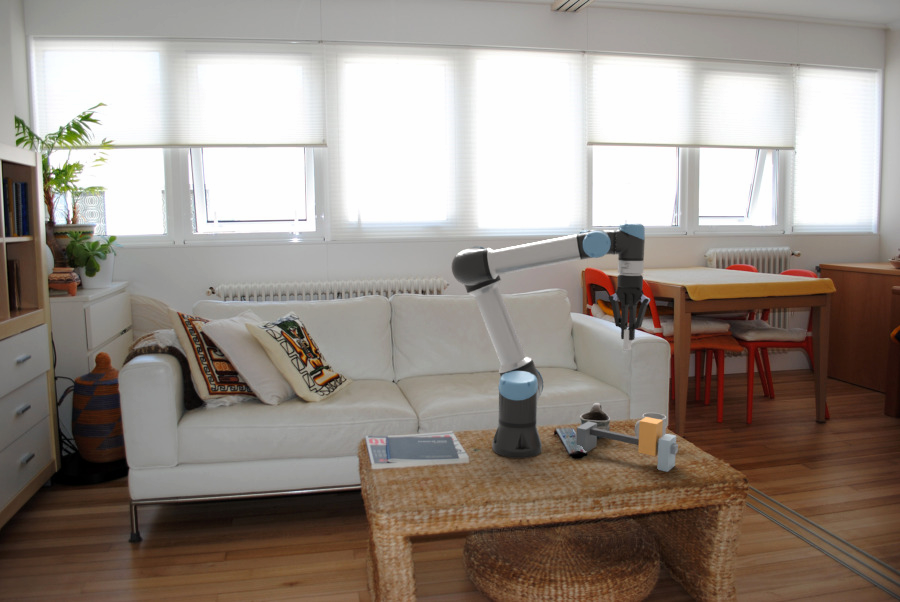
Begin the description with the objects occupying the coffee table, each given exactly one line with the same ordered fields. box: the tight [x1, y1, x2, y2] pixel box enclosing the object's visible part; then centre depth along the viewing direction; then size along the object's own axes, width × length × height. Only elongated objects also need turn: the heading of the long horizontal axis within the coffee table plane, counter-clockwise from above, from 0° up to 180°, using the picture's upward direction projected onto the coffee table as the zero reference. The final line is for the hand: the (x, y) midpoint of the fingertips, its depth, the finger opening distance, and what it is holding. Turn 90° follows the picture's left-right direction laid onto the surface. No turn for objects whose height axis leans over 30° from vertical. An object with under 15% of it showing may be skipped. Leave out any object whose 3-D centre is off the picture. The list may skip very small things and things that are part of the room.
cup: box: [634, 412, 667, 437], centre depth 210 cm, size 7×10×9 cm
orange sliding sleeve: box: [637, 417, 663, 457], centre depth 192 cm, size 5×5×10 cm
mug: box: [579, 402, 611, 440], centre depth 217 cm, size 10×12×10 cm
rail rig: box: [575, 421, 679, 473], centre depth 197 cm, size 29×8×9 cm, turn 53°
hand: (627, 349), depth 206 cm, fingers closed
